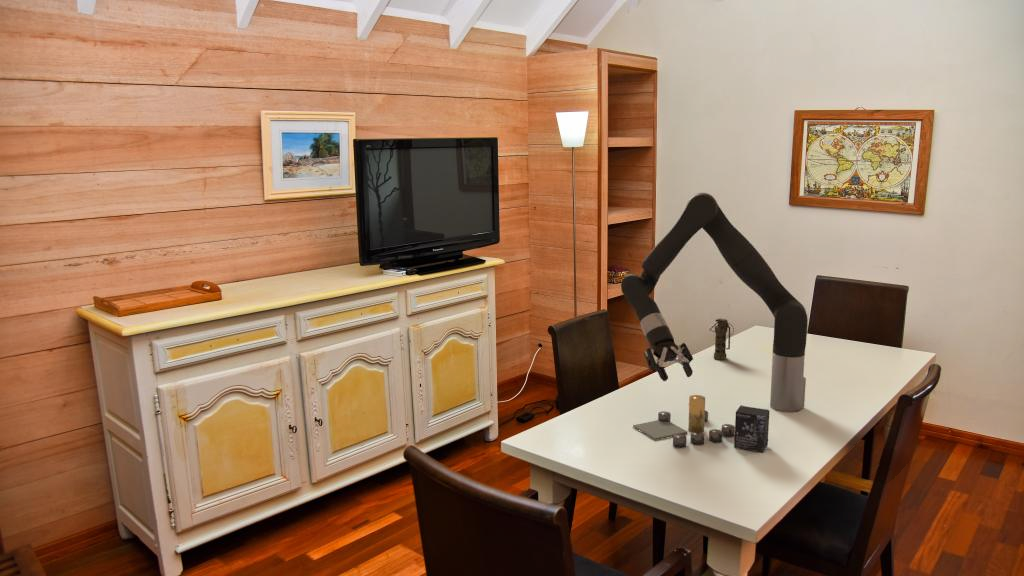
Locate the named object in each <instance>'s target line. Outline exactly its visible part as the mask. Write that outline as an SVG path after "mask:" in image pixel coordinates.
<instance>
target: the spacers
mask: <svg viewBox="0 0 1024 576" xmlns="http://www.w3.org/2000/svg"><path fill="white" fill-rule="evenodd" d="M671 415H672V414H671V412H670V411H665V410H664V411H659V412H658V414H657V420H659V421H661V422H671V418H672V417H671ZM708 421H709V411H707V410H705V421H704V423H707V422H708ZM723 437H724V438H733V437H734V438H735V425H733V424H730V423H729V424H728V423H725V424H721V430H720V429H714V428H713V429H710V430H709V431H708V441H709V442H711V443H715V444H716V443H717V444H719V443H722V442H723ZM690 444H691V445H694V446H702V445H704V444H705V433H704V432H703V433H702V432H690ZM672 446H673V448H677V449H685V448H686V447H687V436H686V435H685V434H683V435H681V434H677V435H674V436H673V437H672Z"/></svg>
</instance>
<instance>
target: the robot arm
mask: <svg viewBox="0 0 1024 576" xmlns="http://www.w3.org/2000/svg"><path fill="white" fill-rule="evenodd" d="M702 229H703V230H704V232H706V234H707V235H708V236H709V237H710V238H711V240H712V241H713V243H714V244H715V246H716V247H717V249H718V251H719V253H720V254H721V256H722V258H723V259H724V261H725V262H726V264H727V265H728V267H730V269H731V270H732V271H733V273H734V274H735V275H736V276H737V278H739V279H740V280H741V282H743V283H744V284H745V285H746V286H747V287H748V288H750V289H751V290H752V292H754V293H755V294H756V295H758V297H760V299H761V300H762V301H763V302H764V304H765V305H766V307H767V308H768V310H769V311H770V312H771V314H772V315H773V316H772V317H774V327H773V343H772V359H771V361H772V362H771V376H770V377H771V383H770V402H769V404H770V405H769V406H770V408H772V409H773V410H776V411H779V412H785V413H786V412H787V413H788V412H791V413H793V412H799V411H801V410H802V408H805V401H806V383H807V379H806V377H805V376H804V375H805V374H804V373H805V356H806V347H807V336H808V321H809V320H808V319H809V318H808V313H807V311H806V308H805V307H804V305H803V304H802V303H801V302H800V301H799V300H798V299H797V298H796V297H795V296H794V295H793V294H792V293H790V291H789V290H787V288H786V287H785V286H784V285H783V284H782V283H781V281H779V279H778V277H777V276H776V274H775V273H774V271H773V269H772V268H771V267H770V264H768V262H767V261H766V260H765V259H764V257H763V256H762V255H761V254H760V252H759V251H758V250H757V248H755V246H754V245H753V244H752V243H751V242H750V241H749V240H748V239H747V237H745V236H744V235H743V234H742V233H741V232H740V231H739V230H738V229H737V227H735V226H734V225H733V224H732V223H731V221H730V220H729V218H728V217H727V216H726V215H725V213H724V212H723V210H722V208H721V207H720V205H719V204H718V202H717V201H716V199H715V197H714V196H713V195H712V194H709V193H707V192H699V193H694V194H693V195H692V196H691V197H690V198H689V200H688V201H687V203H686V206H685V207H684V210H683V212H682V213H681V215H680V217H679V218H678V220H677V222H676V223H675V224H674V226H673V227H672V228H671V229H670V231H668V232H667V233H666V235H665V236H664V237H663V238H662V239H660V241H659V242H658V243H657V244H656V245H655V246H654V247H653V249H651V251H650V253H648V254H647V256H646V257H645V258H644V260H643V261H642V263H641V268H642V269H643V270H642V272H641V274H640V275H637V274H634V273H629V274H626V275H625V276H623V278H622V280H621V283H620V288H621V292H622V295H623V297H624V298H625V300H626V301H627V302H628V304H629V305H630V307H631V308H632V309H633V311H634V312H635V314H636V317H637V319H638V322H639V324H640V327H641V330H642V332H643V335H644V336H645V339H646V341H647V343H648V345H649V348H647V349H646V350H645V351H644V353H643V355H644V357H645V360H646V363H647V366H648V367H649V370H651V371H653V370H655V371H656V372H657V374H658V376H659V377H660V380H661V381H663V382H666V381H668V379H669V375H668V374H667V372H666V369H665V367H664V363H666V362H675V363H676V364H680V365H681V366H682V369H683V372H684V373H685V375H686V377H687V378H690V377H691V376H692V375H693V368H692V367H691V365H690V364H691V362H692V361H693V360H694V357H693V355H692V354H691V351H690V350H689V348H688V346H687V344H686V343H685V342H682V343H681V344H678V345H677V343H676V342H675V338H674V336H673V333H672V332H671V329H670V327H669V325H668V323H667V322H666V319H665V317H664V316H663V315H662V312H661V311H660V308H659V307H658V305H657V303H656V301H655V300H654V299H653V298H651V297H650V296H651V294H652V293H653V291H654V289H655V287H656V285H657V284H658V282H659V279H660V278H661V276H662V274H663V273H664V272H665V271H666V270H667V269H668V268H669V266H671V264H672V262H674V260H675V259H676V258H677V257H678V255H679V253H680V252H681V251H682V249H683V248H684V247H685V246H686V245H687V243H688V242H689V241H690V240H691V239H692V238H693V237H694V236H695V235H696V234H697V233H698V232H699V231H700V230H702ZM654 356H655V357H656V358H657V359H656V360H655V358H654ZM677 356H678V357H677Z"/></svg>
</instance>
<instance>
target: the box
mask: <svg viewBox="0 0 1024 576" xmlns="http://www.w3.org/2000/svg"><path fill="white" fill-rule="evenodd" d="M770 411H771V410H770V409H764V408H759V407H751V406H747V405H739V407H738V408H737V410H736V411H735V421H734V424H735V425H734V426H735V436H734V443H733V447H734V448H735V449H740V450H741V449H742V450H747V451H752V452H758V453H761V454H764V453H765V451H766V449H767V447H768V445H769V444H768V443H769V426H770Z"/></svg>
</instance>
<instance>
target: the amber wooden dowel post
mask: <svg viewBox="0 0 1024 576" xmlns="http://www.w3.org/2000/svg"><path fill="white" fill-rule="evenodd" d="M688 397H689V399H688V430H687V432H689V433H691V432H702V433H704V432H705V422H704V421H705V411H706V397H705V396H703V395H701V394H700V395H699V394H693V395H689V396H688Z"/></svg>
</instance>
